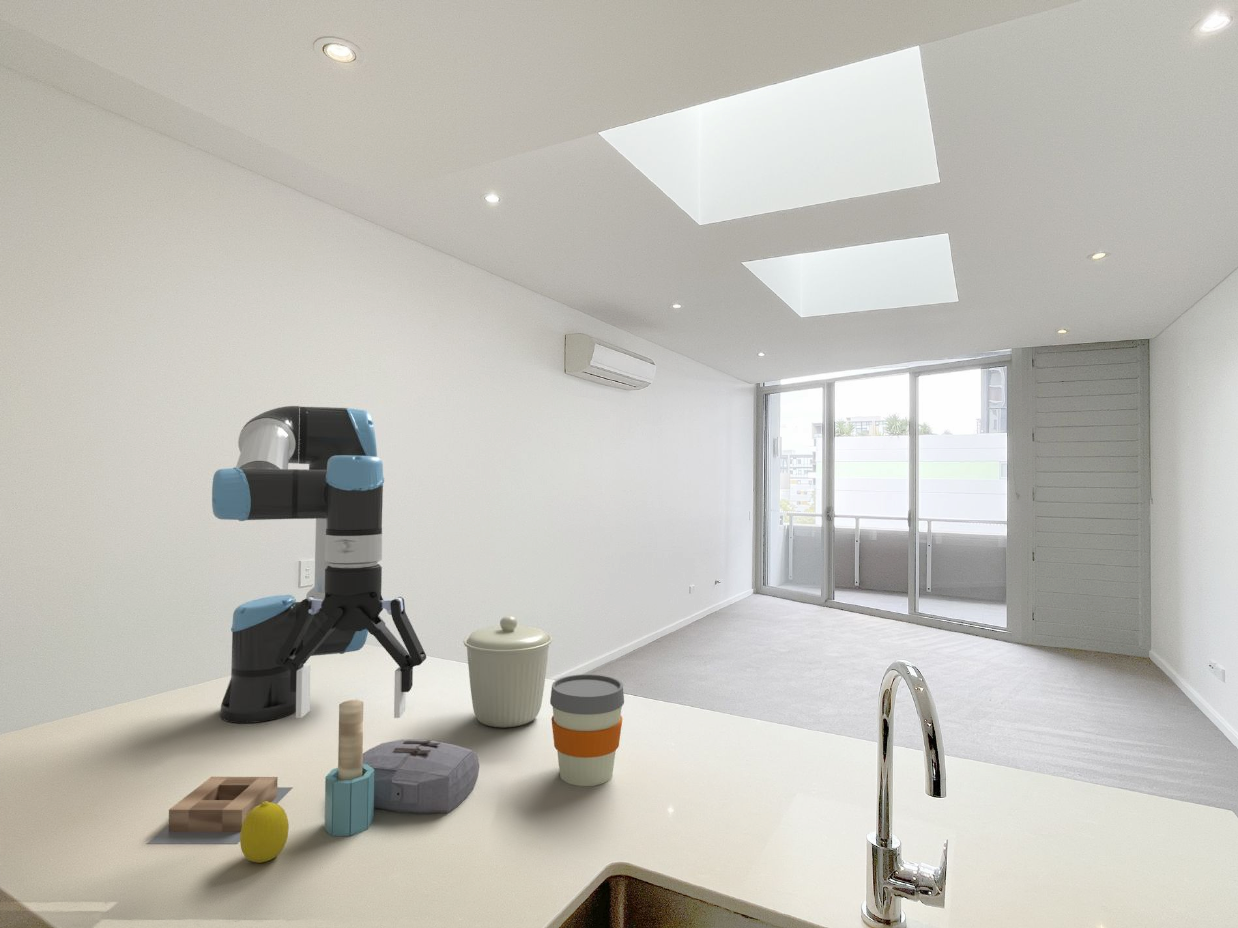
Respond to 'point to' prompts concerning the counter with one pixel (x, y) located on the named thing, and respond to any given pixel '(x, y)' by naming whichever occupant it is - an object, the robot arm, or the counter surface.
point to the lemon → (264, 832)
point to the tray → (206, 837)
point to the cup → (349, 803)
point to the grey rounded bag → (421, 775)
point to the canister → (507, 672)
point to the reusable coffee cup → (586, 726)
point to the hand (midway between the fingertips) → (351, 714)
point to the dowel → (350, 740)
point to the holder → (221, 804)
